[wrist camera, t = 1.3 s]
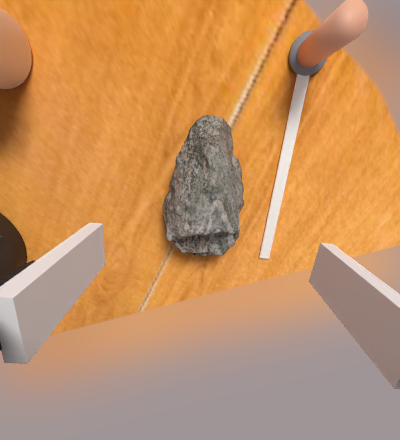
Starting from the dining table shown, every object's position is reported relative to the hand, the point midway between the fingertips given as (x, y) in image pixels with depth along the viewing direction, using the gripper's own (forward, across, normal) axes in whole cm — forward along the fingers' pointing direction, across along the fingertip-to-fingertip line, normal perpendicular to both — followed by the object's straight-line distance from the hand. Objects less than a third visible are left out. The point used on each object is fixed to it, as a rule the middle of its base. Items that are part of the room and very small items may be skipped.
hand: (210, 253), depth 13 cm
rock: (+20, 0, 0) cm, 20 cm away
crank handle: (+19, +11, +5) cm, 23 cm away
